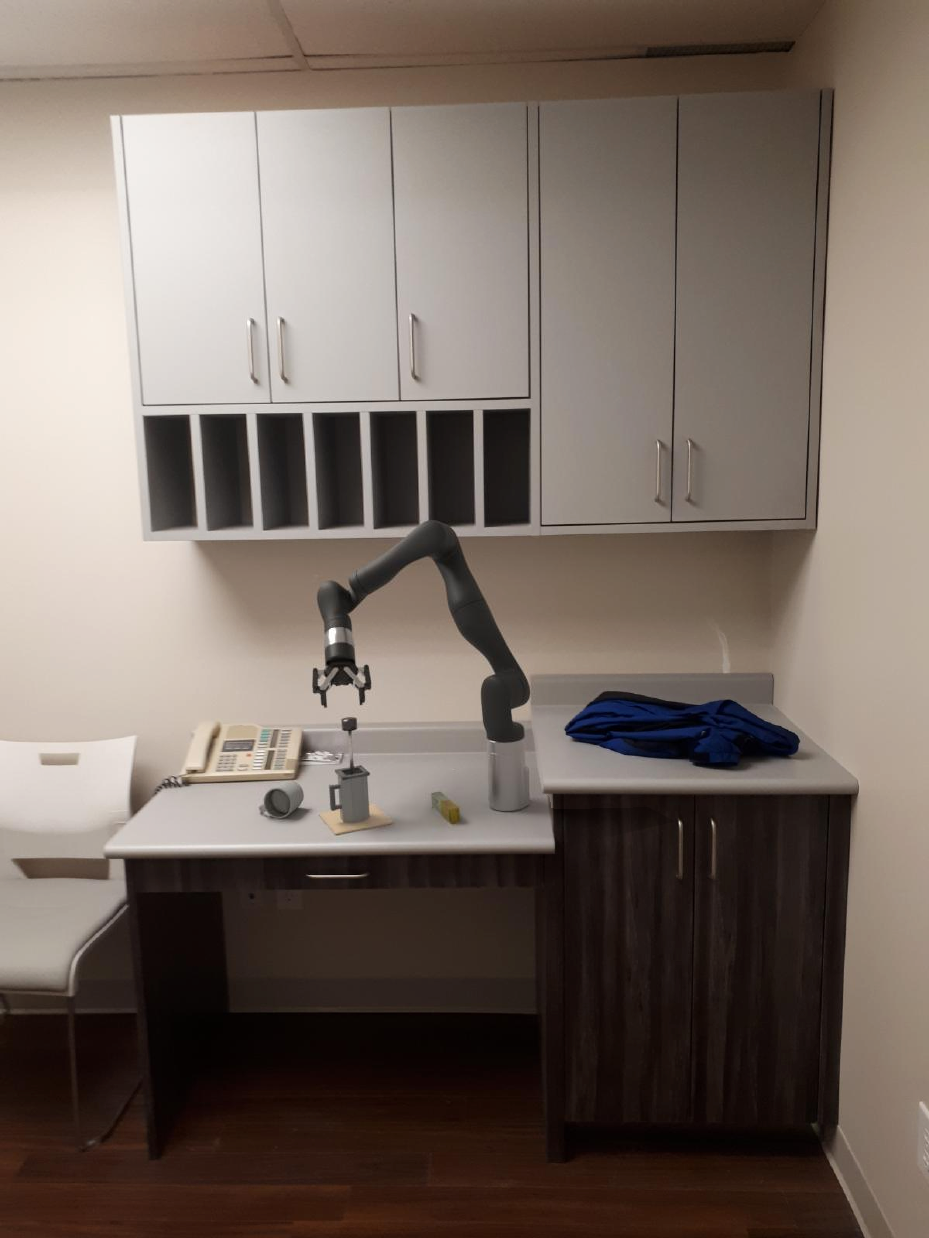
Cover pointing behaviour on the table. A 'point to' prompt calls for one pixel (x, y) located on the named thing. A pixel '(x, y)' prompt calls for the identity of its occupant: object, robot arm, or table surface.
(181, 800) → the table surface
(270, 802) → the ceramic mug
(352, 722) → the plunger
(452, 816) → the medication box
